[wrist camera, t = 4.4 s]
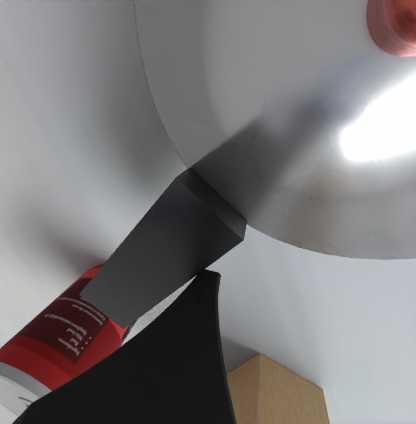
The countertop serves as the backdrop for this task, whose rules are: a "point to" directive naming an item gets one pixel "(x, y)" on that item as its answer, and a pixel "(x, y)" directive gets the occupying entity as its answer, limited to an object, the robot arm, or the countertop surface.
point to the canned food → (56, 347)
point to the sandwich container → (274, 395)
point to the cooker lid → (272, 137)
